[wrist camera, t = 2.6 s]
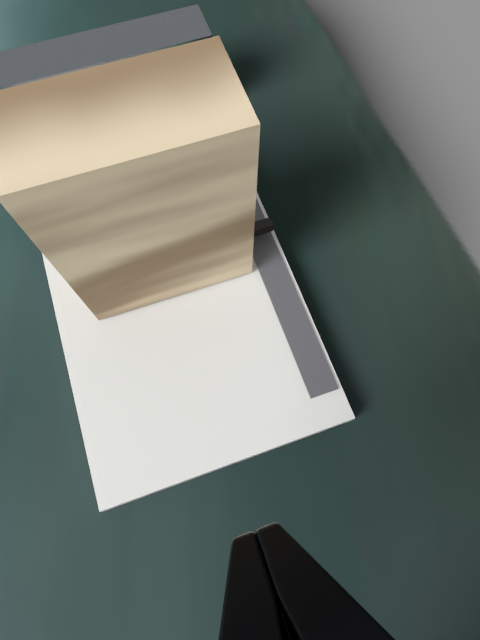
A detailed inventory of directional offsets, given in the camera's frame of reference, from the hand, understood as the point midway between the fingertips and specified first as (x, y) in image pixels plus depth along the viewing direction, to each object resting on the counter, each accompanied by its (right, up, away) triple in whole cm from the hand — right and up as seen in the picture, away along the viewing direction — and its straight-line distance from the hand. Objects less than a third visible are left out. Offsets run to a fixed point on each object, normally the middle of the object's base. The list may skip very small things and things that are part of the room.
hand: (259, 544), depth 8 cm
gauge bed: (-5, +7, +17) cm, 19 cm away
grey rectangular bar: (-8, +17, +19) cm, 27 cm away
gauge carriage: (-4, +7, +15) cm, 17 cm away
